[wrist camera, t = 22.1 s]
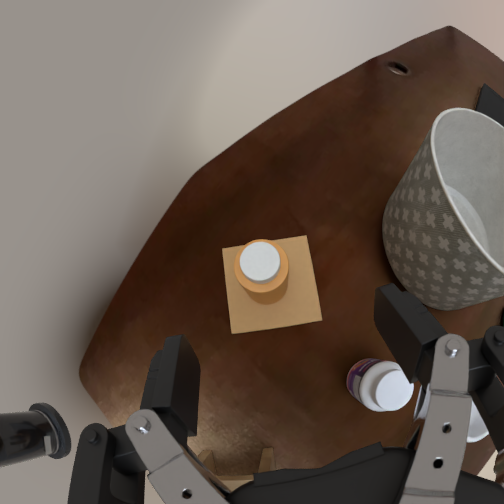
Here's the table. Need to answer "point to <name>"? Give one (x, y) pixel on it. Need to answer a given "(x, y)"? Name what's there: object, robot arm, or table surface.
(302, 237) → the coaster
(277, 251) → the amber bottle
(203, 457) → the miniature wooden chair
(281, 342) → the table surface
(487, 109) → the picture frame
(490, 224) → the planter
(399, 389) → the pill bottle
